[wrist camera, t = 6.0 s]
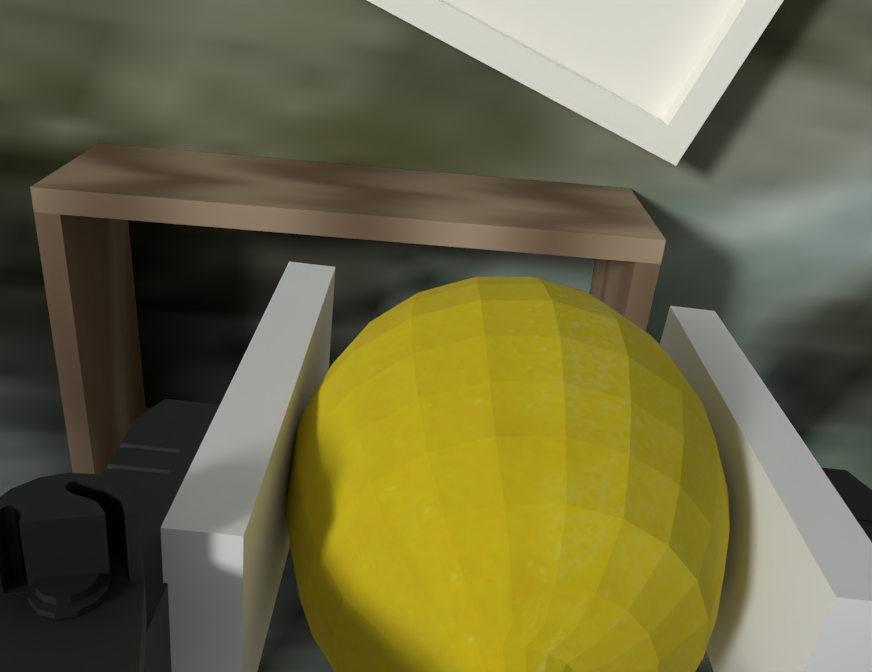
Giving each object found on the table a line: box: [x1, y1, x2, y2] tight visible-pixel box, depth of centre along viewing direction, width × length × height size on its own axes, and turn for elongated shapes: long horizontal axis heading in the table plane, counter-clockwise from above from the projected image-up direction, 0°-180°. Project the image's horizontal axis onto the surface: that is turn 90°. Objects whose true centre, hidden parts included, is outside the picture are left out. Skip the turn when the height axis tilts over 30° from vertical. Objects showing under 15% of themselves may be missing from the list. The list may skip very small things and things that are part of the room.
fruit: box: [285, 277, 730, 672], centre depth 11 cm, size 6×6×8 cm
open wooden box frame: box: [30, 143, 666, 475], centre depth 30 cm, size 20×12×6 cm, turn 85°
